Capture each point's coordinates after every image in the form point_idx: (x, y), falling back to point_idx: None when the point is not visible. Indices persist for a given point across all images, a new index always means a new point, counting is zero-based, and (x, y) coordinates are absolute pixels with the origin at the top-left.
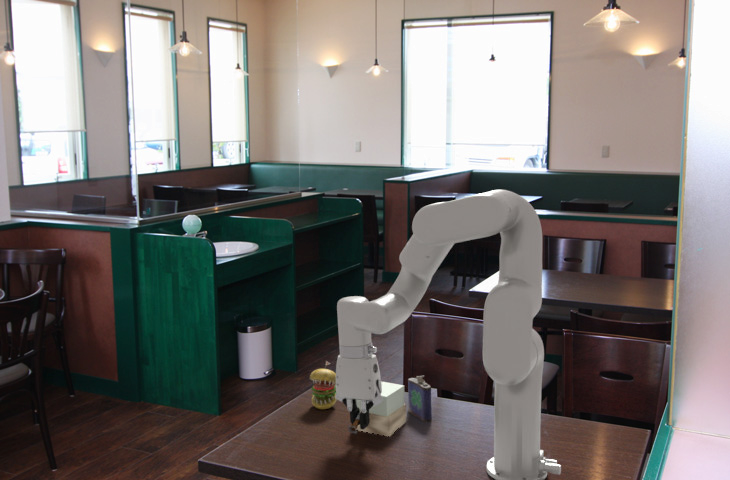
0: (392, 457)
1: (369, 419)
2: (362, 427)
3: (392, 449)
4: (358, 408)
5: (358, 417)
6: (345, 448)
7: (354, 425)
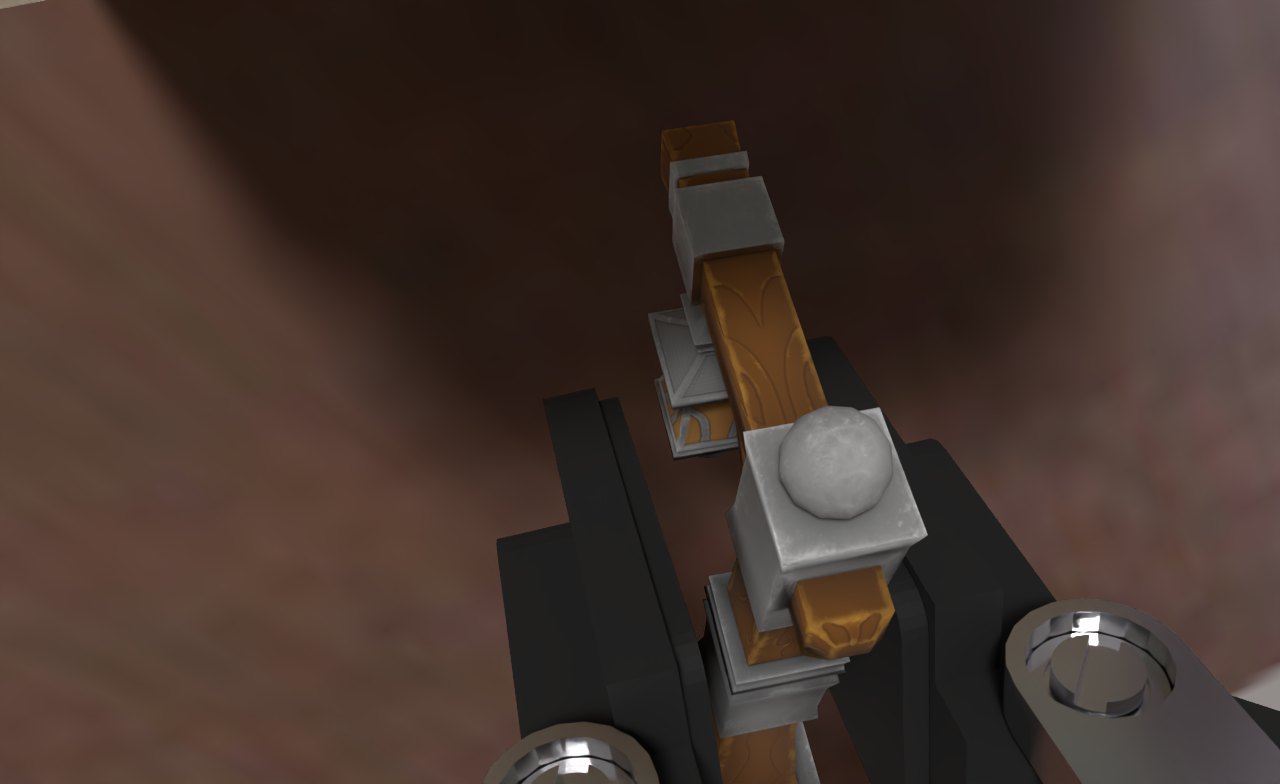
0: (1241, 386)
1: (960, 473)
2: None
3: (1176, 195)
4: (680, 679)
5: (776, 705)
6: None
7: (771, 778)
